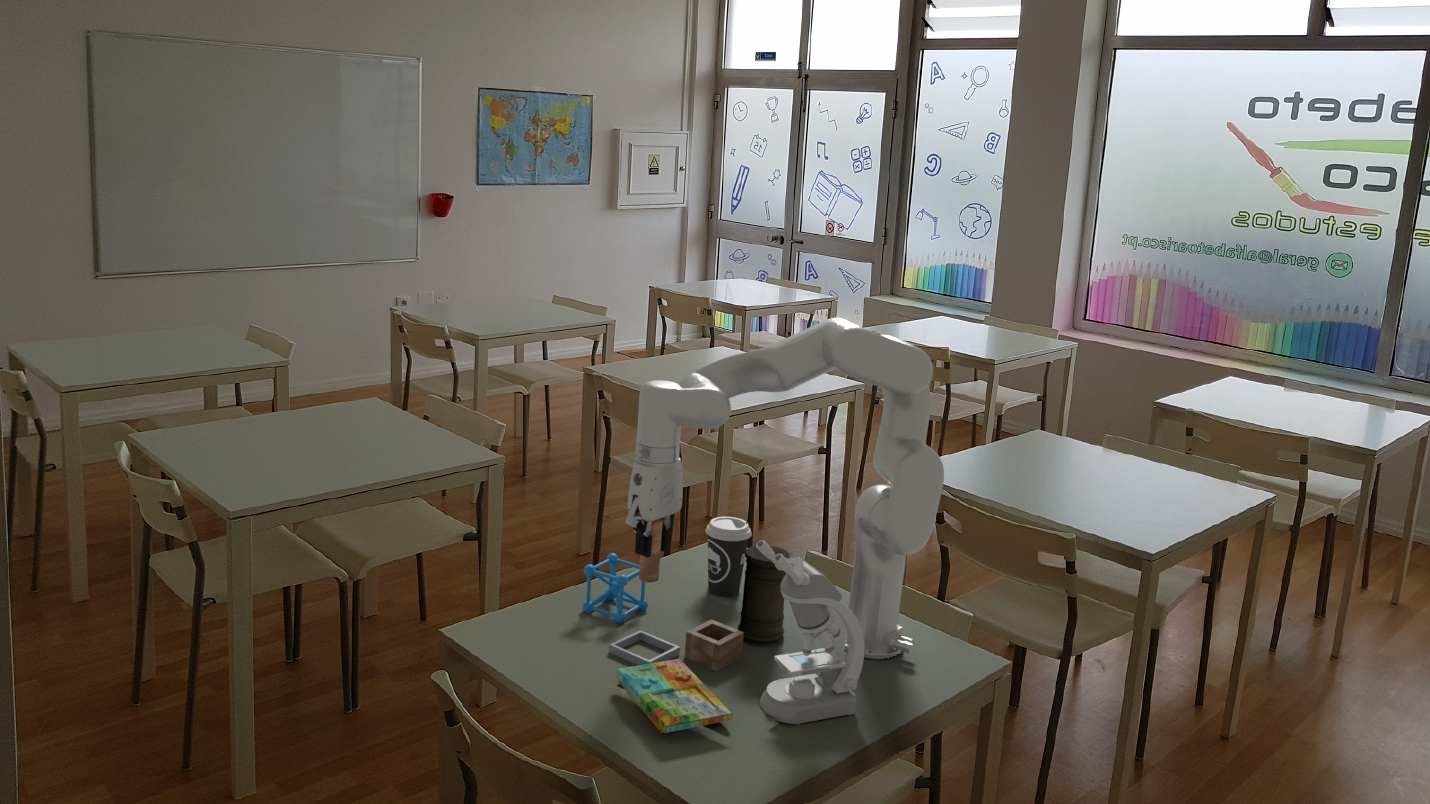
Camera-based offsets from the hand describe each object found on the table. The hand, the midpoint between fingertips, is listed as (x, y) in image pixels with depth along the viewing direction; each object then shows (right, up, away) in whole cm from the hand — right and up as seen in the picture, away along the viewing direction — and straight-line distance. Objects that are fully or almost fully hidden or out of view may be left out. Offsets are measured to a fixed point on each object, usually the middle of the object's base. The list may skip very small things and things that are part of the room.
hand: (650, 551), depth 199 cm
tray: (-1, -20, +5) cm, 21 cm away
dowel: (0, -5, +1) cm, 5 cm away
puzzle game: (+4, -25, -12) cm, 28 cm away
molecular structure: (-8, -15, +24) cm, 29 cm away
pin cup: (+11, -21, +6) cm, 24 cm away
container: (+20, -19, +16) cm, 32 cm away
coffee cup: (+13, -13, +37) cm, 42 cm away
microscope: (+26, -26, -8) cm, 37 cm away
